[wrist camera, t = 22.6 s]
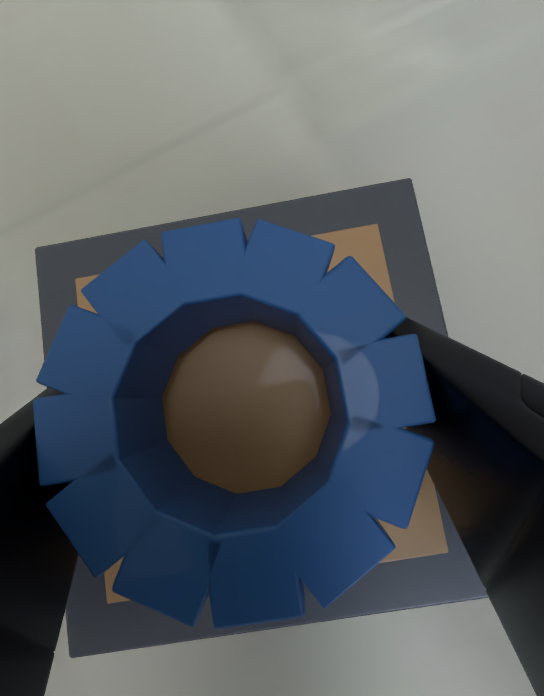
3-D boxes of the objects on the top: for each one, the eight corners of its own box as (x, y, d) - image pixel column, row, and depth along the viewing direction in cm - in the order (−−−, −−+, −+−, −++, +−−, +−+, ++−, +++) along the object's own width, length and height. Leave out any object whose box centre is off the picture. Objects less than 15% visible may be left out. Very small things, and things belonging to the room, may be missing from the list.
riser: (429, 520, 13) (518, 603, 8) (148, 563, 14) (60, 669, 9) (371, 247, 15) (416, 169, 10) (117, 293, 15) (25, 242, 10)
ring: (359, 243, 9) (386, 188, 7) (420, 532, 8) (477, 594, 6) (92, 292, 9) (19, 256, 7) (122, 578, 8) (51, 657, 6)
